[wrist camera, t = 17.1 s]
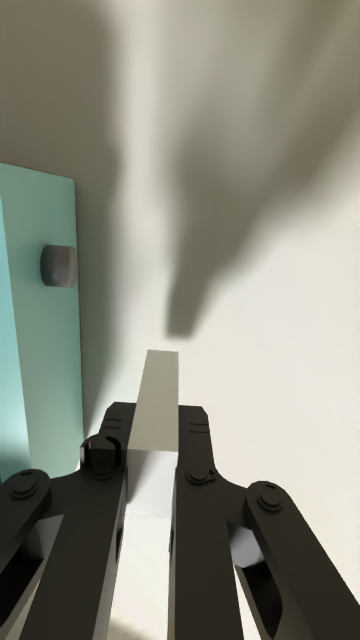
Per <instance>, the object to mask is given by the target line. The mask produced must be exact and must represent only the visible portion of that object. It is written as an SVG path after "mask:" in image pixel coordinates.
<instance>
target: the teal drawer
mask: <svg viewBox="0 0 360 640" xmlns="http://www.w3.org/2000/svg"><path fill="white" fill-rule="evenodd" d="M83 442H84V432H83V404H82V376H81V348H80V320H79V292H78V258H77V236H76V208H75V180H74V179H71V178H67V177H62V176H58V175H53V174H49V173H44V172H40V171H35V170H31V169H26V168H22V167H18V166H13V165H9V164H4V163H0V477H1V483H3V482H4V481H5V480H7V479H8V478H9V477H10V476H11V475H13V474H15V473H17V472H20V471H22V470H27V469H40V470H42V471H44V472H46V473H47V474H48V476H49V477H50V479H51V478H56V477H60V476H65V475H68V474H72V473H74V472H75V469H76V466H77V464H78V461H79V458H80V446H81V444H82V443H83Z"/></svg>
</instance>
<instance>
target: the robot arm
mask: <svg viewBox="0 0 360 640" xmlns="http://www.w3.org/2000/svg"><path fill="white" fill-rule="evenodd" d="M125 511H126V513H125ZM125 515H127V516H146V517H164V518H171V532H170V542H169V552H170V559H169V596H168V632H167V640H244V636H243V629H242V622H241V615H240V609H239V602H238V595H237V588H236V582H235V575H234V568H233V564H234V567H235V570H236V572H237V575H238V578H239V580H240V583H241V586H242V589H243V591H244V594H245V597H246V599H247V602H248V605H249V607H250V610H251V613H252V616H253V618H254V621H255V624H256V626H257V629H258V632H259V635H260V637H261V640H360V605H359V604H358V602H357V600H356V599H355V597H354V596H353V594H352V593H351V591H350V589H349V588H348V586H347V585H346V583H345V582H344V580H343V578H342V577H341V575H340V574H339V572H338V571H337V569H336V568H335V566H334V564H333V563H332V561H331V560H330V558H329V557H328V555H327V553H326V552H325V550H324V549H323V547H322V546H321V544H320V543H319V541H318V539H317V538H316V536H315V535H314V533H313V532H312V530H311V528H310V527H309V525H308V524H307V522H306V521H305V519H304V518H303V516H302V514H301V513H300V511H299V510H298V508H297V507H296V505H295V503H294V502H293V500H292V499H291V497H290V496H289V495H288V494H287V492H286V491H285V490H284V489H282V488H281V487H279V486H278V485H276V484H274V483H271V482H268V481H257V482H254V483H252V484H251V485H250V486H249V487H248V488H244V487H241V486H238V485H236V484H233V483H231V482H229V481H227V480H226V479H224V478H223V477H222V476H221V475H220V474H219V473H218V470H217V469H216V468H215V464H214V458H213V451H212V444H211V436H210V429H209V422H208V415H207V414H206V412H205V411H204V409H203V408H202V407H200V406H185V405H178V352H173V351H159V350H148V351H147V356H146V361H145V366H144V370H143V375H142V380H141V385H140V390H139V395H138V400H137V403H126V402H114V403H113V404H112V405H111V406H110V407H109V408H107V410H106V413H105V415H104V418H103V421H102V424H101V428H100V430H99V433H98V434H96V435H93V436H90V437H89V438H87V439H86V440H85V441H84V442H83V443H82V444H81V446H80V469H79V470H78V471H76V472H74V473H72V474H68V475H65V476H60V477H56V478H51V479H50V477H49V476H48V474H47V473H46V472H44V471H42V470H40V469H27V470H22V471H20V472H17V473H15V474H13V475H11V476H10V477H9V478H8V479H7V480H5V481H4V482H3V483H2V484H1V485H0V640H5V638H6V636H7V635H8V633H9V631H10V630H11V628H12V626H13V625H14V623H15V621H16V619H17V618H18V616H19V614H20V613H21V611H22V609H23V608H24V606H25V604H26V603H27V601H28V599H29V597H30V596H31V594H32V592H33V591H34V589H35V587H36V586H37V584H38V582H39V580H40V582H39V585H38V588H37V590H36V593H35V596H34V599H33V602H32V604H31V607H30V610H29V613H28V615H27V618H26V621H25V624H24V626H23V629H22V632H21V635H20V637H19V640H106V637H107V631H108V625H109V619H110V612H111V606H112V600H113V594H114V588H115V582H116V576H117V570H118V563H119V557H120V551H121V545H122V539H123V530H124V517H125Z"/></svg>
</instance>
